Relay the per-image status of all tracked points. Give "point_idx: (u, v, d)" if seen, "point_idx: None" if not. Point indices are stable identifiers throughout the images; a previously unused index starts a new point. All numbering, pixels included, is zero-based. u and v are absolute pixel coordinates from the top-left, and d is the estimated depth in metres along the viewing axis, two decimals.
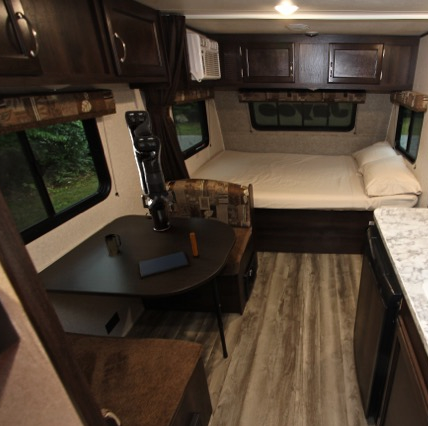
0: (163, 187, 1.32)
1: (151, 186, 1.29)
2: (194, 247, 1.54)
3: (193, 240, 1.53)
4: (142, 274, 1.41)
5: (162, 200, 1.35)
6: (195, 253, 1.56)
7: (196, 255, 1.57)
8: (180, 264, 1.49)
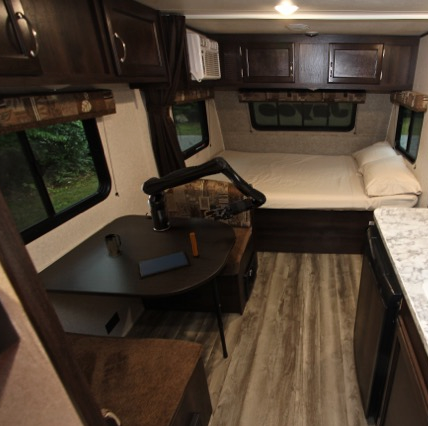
0: None
1: (236, 214, 1.66)
2: (194, 247, 1.54)
3: (193, 240, 1.53)
4: (142, 274, 1.41)
5: None
6: (195, 253, 1.56)
7: (196, 255, 1.57)
8: (180, 264, 1.49)
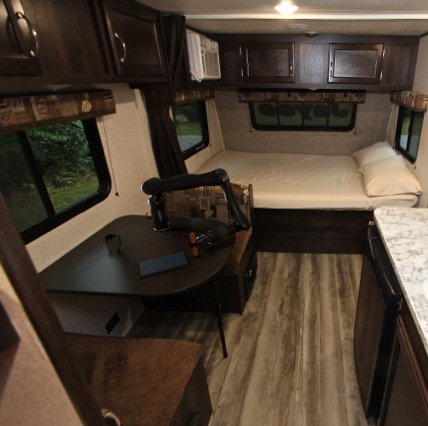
0: None
1: None
2: (194, 247, 1.54)
3: (193, 240, 1.53)
4: (142, 274, 1.41)
5: None
6: (195, 253, 1.56)
7: (196, 255, 1.57)
8: (180, 264, 1.49)
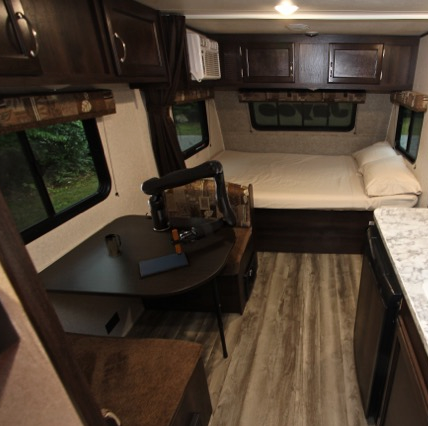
0: None
1: None
2: (177, 244, 1.49)
3: (175, 237, 1.47)
4: (142, 274, 1.41)
5: None
6: (178, 250, 1.51)
7: (179, 253, 1.51)
8: (180, 264, 1.49)
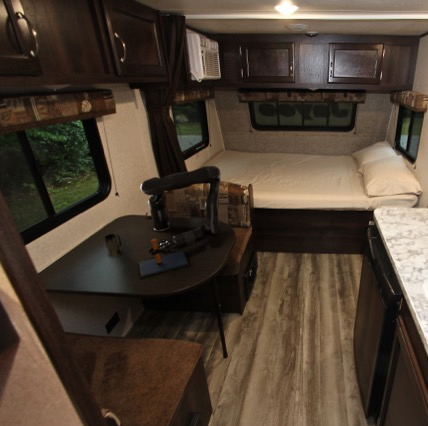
0: None
1: None
2: (156, 254, 1.46)
3: (155, 247, 1.44)
4: (142, 274, 1.41)
5: None
6: (158, 260, 1.47)
7: (159, 262, 1.48)
8: (180, 264, 1.49)
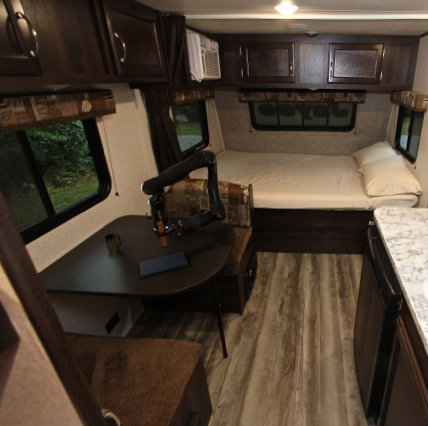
0: None
1: None
2: (162, 237, 1.44)
3: (161, 229, 1.42)
4: (142, 274, 1.41)
5: None
6: (164, 243, 1.46)
7: (165, 246, 1.46)
8: (180, 264, 1.49)
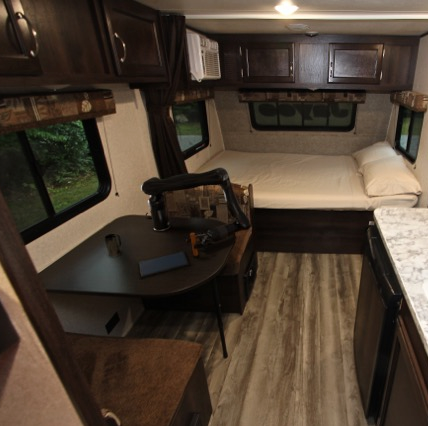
0: None
1: (218, 240, 1.63)
2: None
3: (193, 240, 1.53)
4: (142, 274, 1.41)
5: None
6: (195, 253, 1.56)
7: (196, 255, 1.57)
8: (180, 264, 1.49)
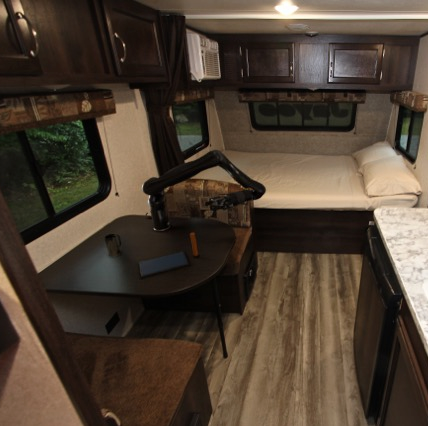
0: None
1: (235, 205, 1.64)
2: (194, 247, 1.54)
3: (193, 240, 1.53)
4: (142, 274, 1.41)
5: None
6: (195, 253, 1.56)
7: (196, 255, 1.57)
8: (180, 264, 1.49)
